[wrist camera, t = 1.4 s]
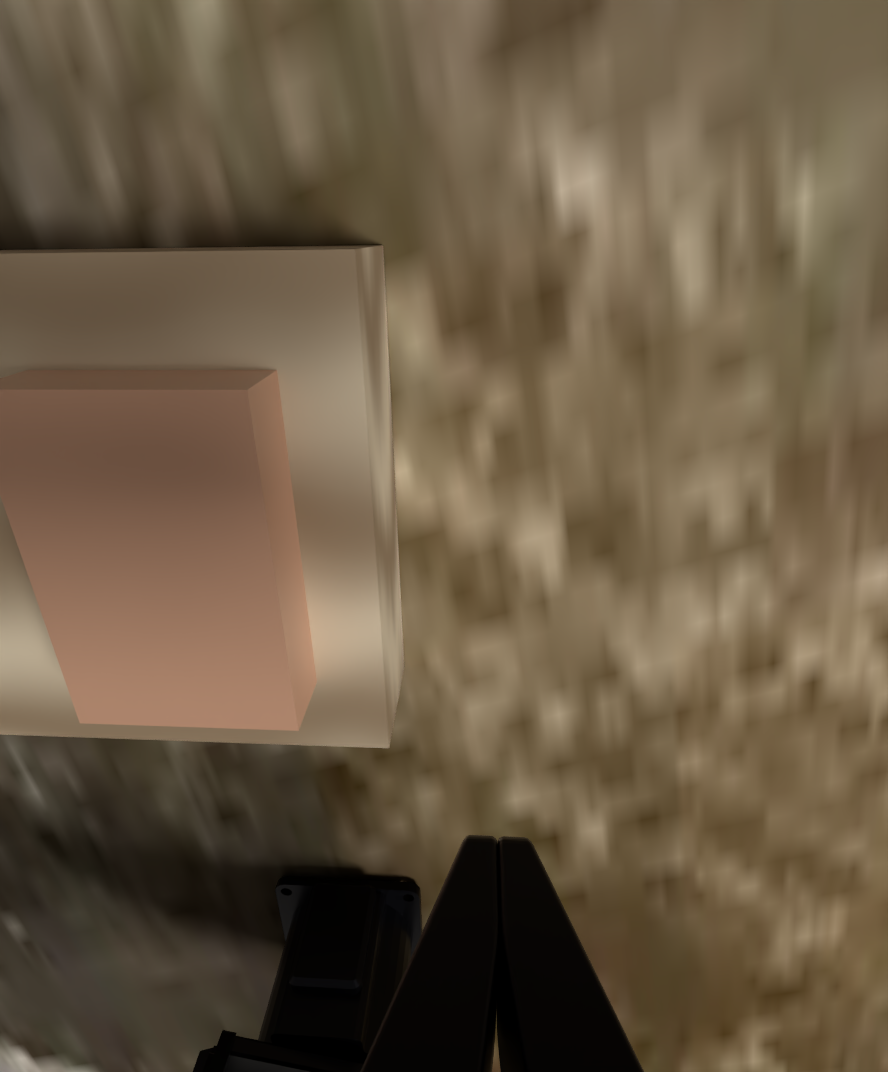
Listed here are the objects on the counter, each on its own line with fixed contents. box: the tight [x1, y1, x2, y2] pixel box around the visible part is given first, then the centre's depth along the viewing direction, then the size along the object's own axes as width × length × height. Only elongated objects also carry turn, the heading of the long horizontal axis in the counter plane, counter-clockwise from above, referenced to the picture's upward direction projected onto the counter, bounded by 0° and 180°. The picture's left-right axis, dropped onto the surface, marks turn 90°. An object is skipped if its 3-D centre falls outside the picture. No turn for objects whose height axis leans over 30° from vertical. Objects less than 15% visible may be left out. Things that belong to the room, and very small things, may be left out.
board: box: [0, 245, 404, 748], centre depth 18 cm, size 14×16×4 cm
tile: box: [0, 370, 317, 731], centre depth 16 cm, size 9×6×2 cm, turn 1°
